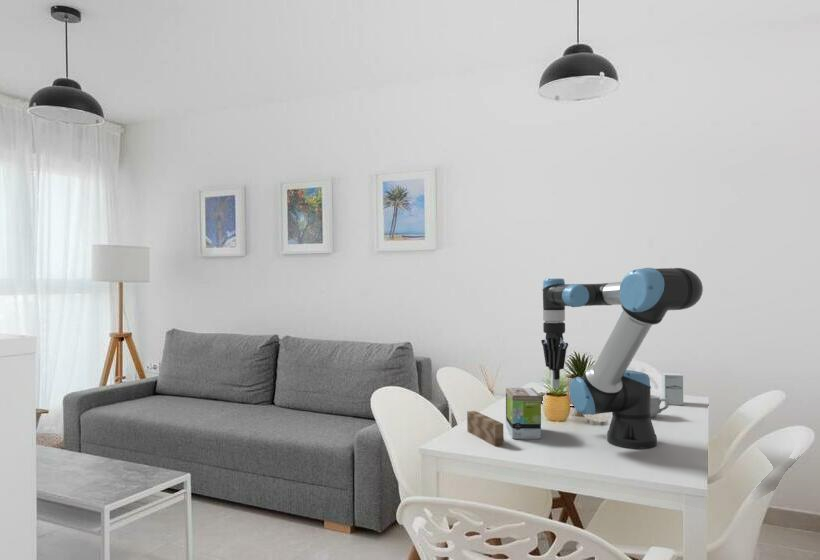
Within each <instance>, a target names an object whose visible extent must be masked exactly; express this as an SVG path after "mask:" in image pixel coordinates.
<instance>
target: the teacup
mask: <svg viewBox="0 0 820 560" xmlns="http://www.w3.org/2000/svg"><path fill="white" fill-rule="evenodd" d="M663 401H665V402H666V405H665V406H663V407H661V408H660V406H661V403H662V402H663ZM669 406H670V405H669V402H668V400H667V399H665V398H662V397H660V396H659V395H655V394H650V408H651V418H654V417H656V416H657V415H658V414H661V413H662V412H663V411H665V410H667V409H668V407H669Z"/></svg>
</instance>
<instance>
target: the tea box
mask: <svg viewBox="0 0 820 560" xmlns="http://www.w3.org/2000/svg"><path fill="white" fill-rule="evenodd" d="M539 393H540V392H537V391H536V390H535V389H534V388H533V387H506V388H505V429H507V431H508V433H509V435H510V436H511V439H514V440H517V439H518V440H524V439H525V440H534V439H535V440H537V439H538V440H540V439H541V438H542V404H541V395H540V394H539Z"/></svg>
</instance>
